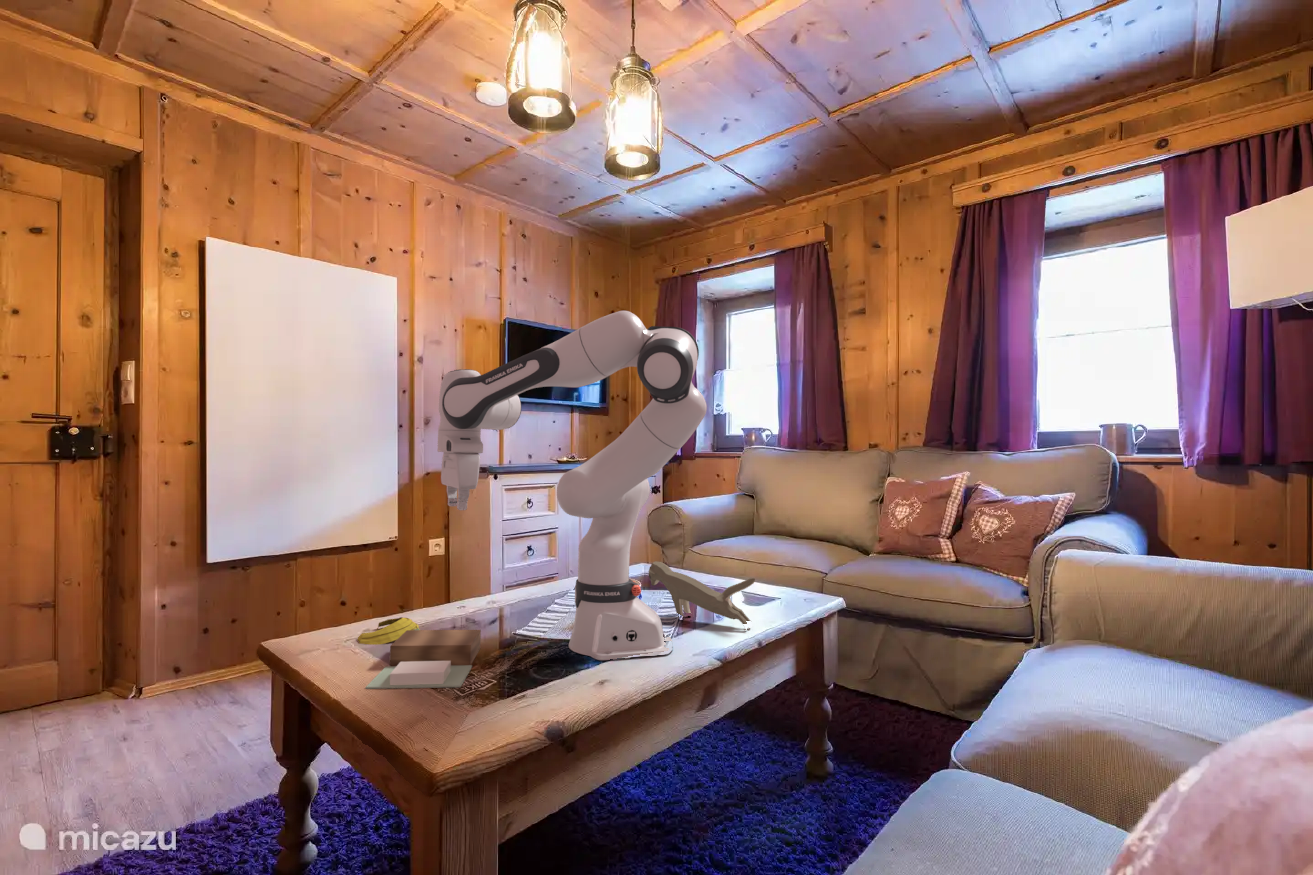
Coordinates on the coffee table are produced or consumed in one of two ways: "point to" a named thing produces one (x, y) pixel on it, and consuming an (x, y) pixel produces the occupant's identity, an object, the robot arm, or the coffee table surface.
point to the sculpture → (698, 592)
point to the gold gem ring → (388, 631)
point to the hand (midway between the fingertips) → (457, 508)
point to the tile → (420, 672)
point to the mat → (452, 680)
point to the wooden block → (436, 646)
